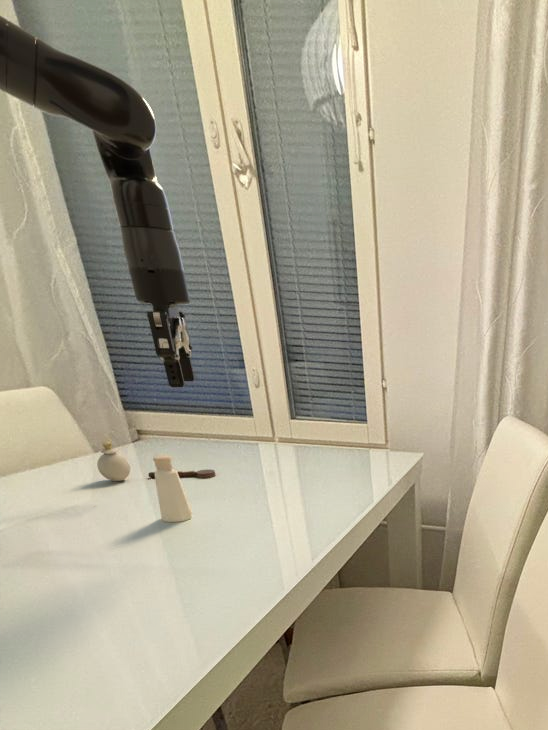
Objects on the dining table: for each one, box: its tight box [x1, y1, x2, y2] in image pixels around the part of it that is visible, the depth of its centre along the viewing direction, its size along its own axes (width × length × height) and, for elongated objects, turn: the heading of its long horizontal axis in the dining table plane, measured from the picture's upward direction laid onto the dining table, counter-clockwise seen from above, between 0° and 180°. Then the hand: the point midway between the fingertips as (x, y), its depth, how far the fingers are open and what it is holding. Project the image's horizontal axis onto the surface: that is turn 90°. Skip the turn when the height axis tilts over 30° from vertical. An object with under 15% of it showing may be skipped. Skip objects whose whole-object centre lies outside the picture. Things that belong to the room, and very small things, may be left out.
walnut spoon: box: [147, 469, 217, 479], centre depth 126 cm, size 14×4×1 cm, turn 104°
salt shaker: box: [152, 454, 194, 523], centre depth 99 cm, size 5×5×11 cm
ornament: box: [96, 432, 131, 482], centre depth 120 cm, size 6×7×10 cm
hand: (183, 384), depth 91 cm, fingers open, 8 cm apart
